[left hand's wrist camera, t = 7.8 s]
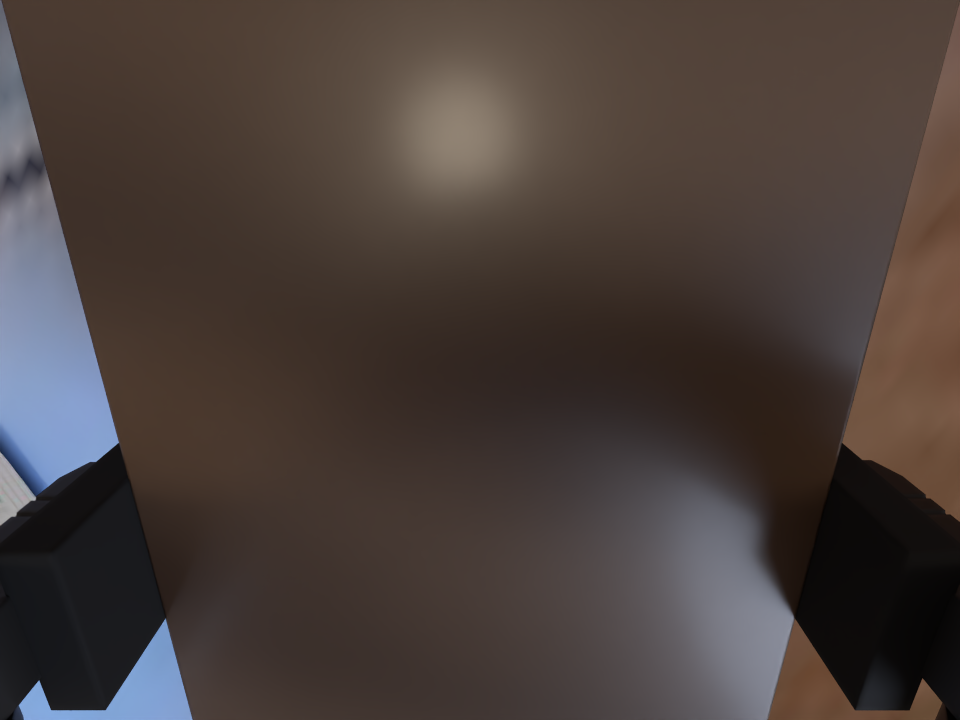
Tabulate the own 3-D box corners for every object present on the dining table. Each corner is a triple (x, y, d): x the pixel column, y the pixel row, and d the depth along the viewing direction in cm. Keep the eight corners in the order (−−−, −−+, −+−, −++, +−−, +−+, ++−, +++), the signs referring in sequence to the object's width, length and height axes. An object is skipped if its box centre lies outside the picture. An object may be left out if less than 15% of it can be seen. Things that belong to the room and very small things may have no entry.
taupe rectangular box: (248, -212, 13) (-268, -990, 4) (712, -211, 13) (1232, -992, 4) (327, 479, 19) (200, 761, 11) (632, 479, 19) (759, 761, 11)
